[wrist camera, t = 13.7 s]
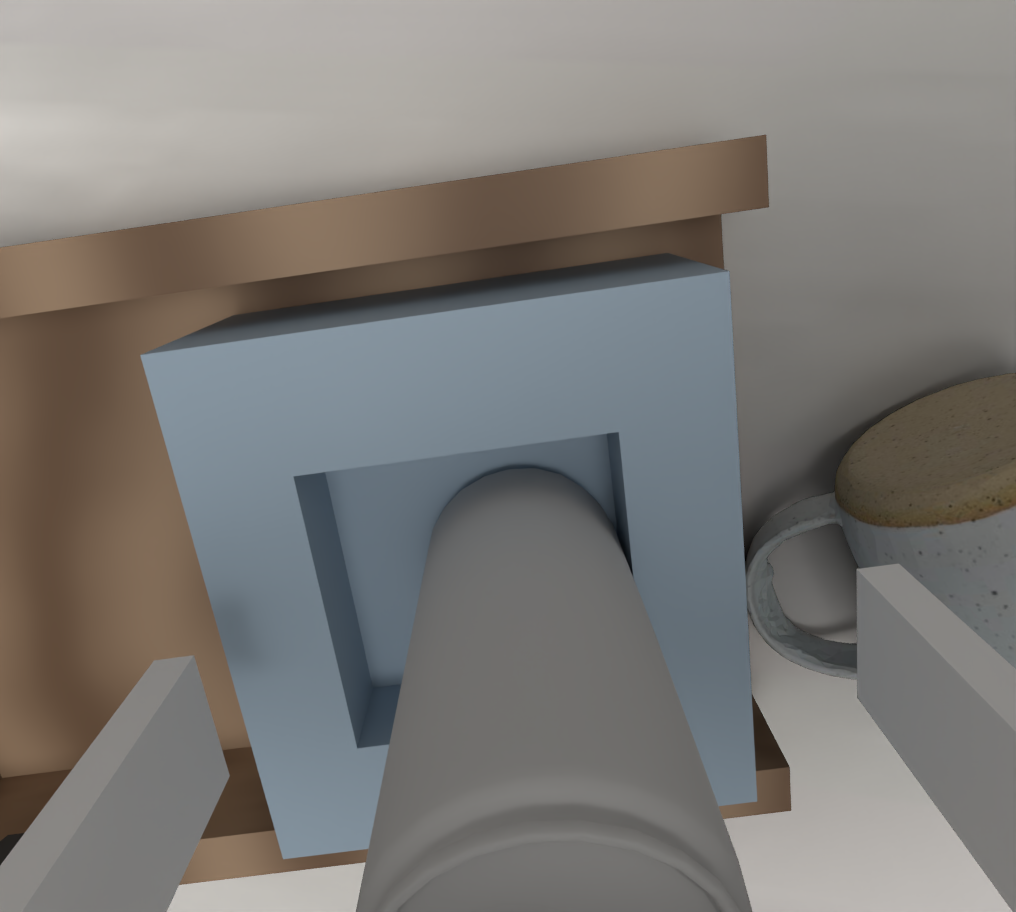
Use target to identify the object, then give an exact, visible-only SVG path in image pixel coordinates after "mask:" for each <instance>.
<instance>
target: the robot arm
mask: <svg viewBox="0 0 1016 912" xmlns="http://www.w3.org/2000/svg"><path fill="white" fill-rule="evenodd" d="M857 698H858V699H859V700H860V702H861V703H862V704H863V706H864V707H865V709H866V710H867V711H868V713H869V714H870V715H871V717H872V718H873V720H874V721H875V722H876V724H877V725H878V727H879V728H880V729H881V731H882V732H883V733H884V735H885V736H886V738H887V739H888V740H889V742H890V743H891V744H892V746H893V747H894V749H895V750H896V751H897V753H898V754H899V755H900V757H901V758H902V760H903V761H904V762H905V764H906V765H907V766H908V768H909V769H910V771H911V772H912V773H913V775H914V776H915V777H916V779H917V780H918V782H919V783H920V784H921V786H922V787H923V789H924V790H925V791H926V793H927V794H928V795H929V797H930V798H931V800H932V801H933V802H934V804H935V805H936V806H937V808H938V809H939V811H940V812H941V813H942V815H943V816H944V817H945V819H946V820H947V822H948V823H949V824H950V826H951V827H952V828H953V830H954V831H955V833H956V834H957V835H958V837H959V838H960V839H961V841H962V842H963V844H964V845H965V846H966V848H967V849H968V851H969V852H970V853H971V855H972V856H973V857H974V859H975V860H976V862H977V863H978V864H979V866H980V867H981V868H982V870H983V871H984V873H985V874H986V875H987V877H988V878H989V879H990V881H991V882H992V884H993V885H994V886H995V888H996V889H997V890H998V892H999V893H1000V895H1001V896H1002V897H1003V899H1004V900H1005V901H1006V903H1007V904H1008V906H1009V907H1010V908H1011V910H1012V911H1013V912H1016V669H1015V668H1014V667H1013V666H1012V665H1011V664H1010V663H1008V662H1007V661H1006V660H1005V659H1004V658H1003V657H1002V656H1001V655H1000V654H999V653H997V652H996V651H995V650H994V649H993V648H992V647H991V646H990V645H989V644H987V643H986V642H985V641H984V640H983V639H982V638H981V637H980V636H979V635H977V634H976V633H975V632H974V631H973V630H972V629H971V628H970V627H969V626H967V625H966V624H965V623H964V622H963V621H962V620H961V619H960V618H959V617H957V616H956V615H955V614H954V613H953V612H952V611H951V610H950V609H949V608H947V607H946V606H945V605H944V604H943V603H942V602H941V601H940V600H939V599H938V598H936V597H935V596H934V595H933V594H932V593H931V592H930V591H929V590H928V589H926V588H925V587H924V586H923V585H922V584H921V583H920V582H919V581H918V580H916V579H915V578H914V577H913V576H912V575H911V574H910V573H909V572H908V571H906V570H905V569H904V568H903V567H902V566H901V565H900V564H892V565H884V566H876V567H868V568H861V569H857ZM229 777H230V775H229V771H228V768H227V765H226V761H225V758H224V755H223V751H222V748H221V745H220V741H219V738H218V734H217V731H216V728H215V724H214V721H213V718H212V714H211V711H210V708H209V704H208V701H207V697H206V694H205V691H204V687H203V684H202V681H201V677H200V674H199V671H198V667H197V664H196V660H195V657H194V655H192V656H185V657H177V658H169V659H162V660H154V661H153V663H152V664H151V665H150V667H149V668H148V669H147V671H146V672H145V673H144V675H143V676H142V677H141V679H140V680H139V681H138V683H137V684H136V685H135V687H134V688H133V689H132V691H131V692H130V693H129V695H128V696H127V697H126V699H125V700H124V701H123V703H122V704H121V705H120V707H119V708H118V709H117V711H116V712H115V713H114V715H113V716H112V717H111V719H110V720H109V721H108V723H107V724H106V725H105V727H104V728H103V729H102V731H101V732H100V733H99V735H98V736H97V737H96V739H95V740H94V741H93V743H92V744H91V745H90V747H89V748H88V749H87V751H86V752H85V753H84V755H83V756H82V757H81V759H80V760H79V761H78V763H77V764H76V765H75V767H74V768H73V769H72V771H71V772H70V773H69V775H68V776H67V777H66V779H65V780H64V781H63V783H62V784H61V785H60V787H59V788H58V789H57V791H56V792H55V793H54V795H53V796H52V797H51V799H50V800H49V801H48V803H47V804H46V805H45V807H44V808H43V809H42V811H41V812H40V813H39V815H38V816H37V817H36V819H35V820H34V821H33V823H32V824H31V825H30V827H29V828H28V829H27V831H26V832H25V833H20V834H12V835H7V836H6V837H5V838H4V839H2V840H1V841H0V912H166V911H167V909H168V907H169V905H170V903H171V901H172V899H173V896H174V894H175V892H176V890H177V888H178V886H179V884H180V882H181V879H182V877H183V875H184V873H185V871H186V869H187V867H188V864H189V862H190V860H191V858H192V856H193V854H194V852H195V849H196V847H197V845H198V843H199V841H200V839H201V837H202V834H203V832H204V830H205V828H206V826H207V824H208V822H209V819H210V817H211V815H212V813H213V811H214V809H215V807H216V804H217V802H218V800H219V798H220V796H221V794H222V792H223V789H224V787H225V785H226V783H227V781H228V779H229Z"/></svg>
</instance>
